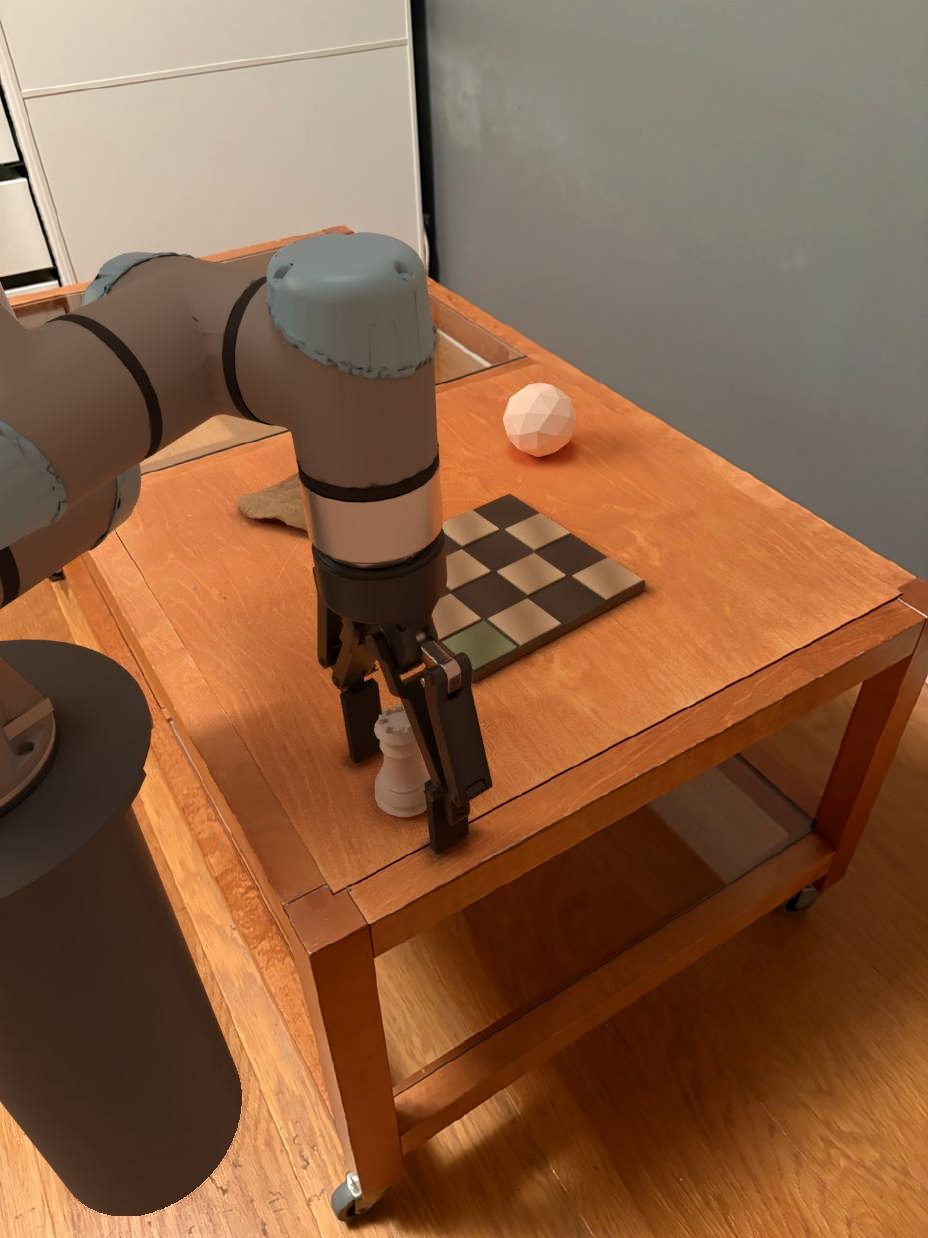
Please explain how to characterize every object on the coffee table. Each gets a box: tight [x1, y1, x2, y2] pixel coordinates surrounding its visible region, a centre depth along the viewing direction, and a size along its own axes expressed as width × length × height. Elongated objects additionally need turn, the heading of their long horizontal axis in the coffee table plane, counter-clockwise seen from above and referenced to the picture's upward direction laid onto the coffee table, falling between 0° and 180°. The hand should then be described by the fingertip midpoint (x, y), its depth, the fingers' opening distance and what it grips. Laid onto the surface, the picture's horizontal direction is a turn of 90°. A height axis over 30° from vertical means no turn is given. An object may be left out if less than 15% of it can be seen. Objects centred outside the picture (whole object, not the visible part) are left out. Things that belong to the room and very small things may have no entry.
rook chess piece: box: [374, 703, 430, 818], centre depth 65 cm, size 4×4×8 cm
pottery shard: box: [236, 471, 308, 532], centre depth 96 cm, size 11×4×10 cm
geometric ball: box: [502, 382, 578, 458], centre depth 102 cm, size 8×8×8 cm
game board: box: [432, 493, 646, 683], centre depth 86 cm, size 19×19×1 cm
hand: (407, 794), depth 67 cm, fingers open, 10 cm apart
